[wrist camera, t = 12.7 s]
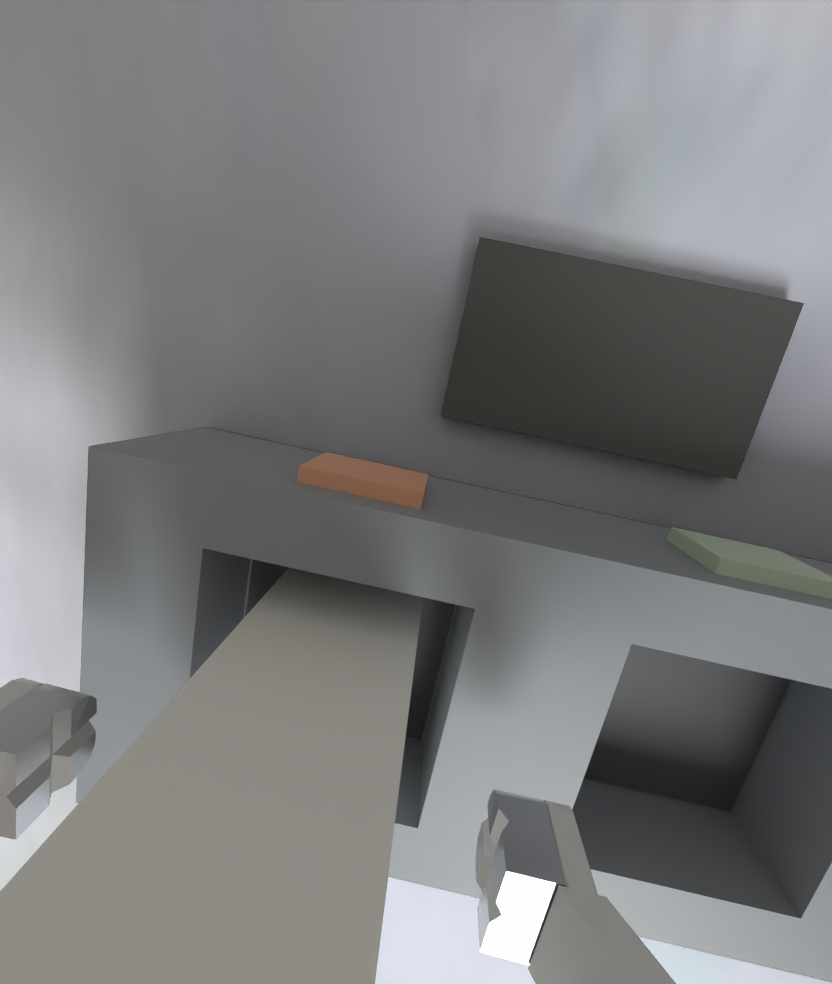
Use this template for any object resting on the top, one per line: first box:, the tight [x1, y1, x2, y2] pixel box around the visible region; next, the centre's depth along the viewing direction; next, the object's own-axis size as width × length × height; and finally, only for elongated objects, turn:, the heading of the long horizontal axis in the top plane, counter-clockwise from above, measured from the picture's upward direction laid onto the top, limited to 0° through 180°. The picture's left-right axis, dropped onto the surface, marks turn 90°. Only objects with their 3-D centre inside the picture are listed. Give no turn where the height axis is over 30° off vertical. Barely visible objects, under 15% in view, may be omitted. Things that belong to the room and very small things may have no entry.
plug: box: [0, 567, 423, 984], centre depth 9 cm, size 4×4×11 cm
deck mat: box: [441, 237, 804, 479], centre depth 13 cm, size 9×5×1 cm, turn 78°
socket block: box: [76, 427, 832, 982], centre depth 13 cm, size 22×10×5 cm, turn 78°
